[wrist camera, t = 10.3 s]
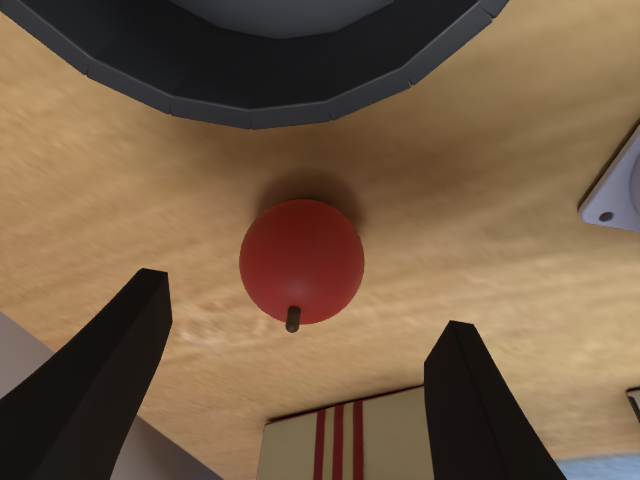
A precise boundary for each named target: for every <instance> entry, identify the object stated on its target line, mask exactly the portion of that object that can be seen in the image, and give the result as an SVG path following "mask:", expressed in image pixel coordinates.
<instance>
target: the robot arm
mask: <svg viewBox="0 0 640 480" xmlns="http://www.w3.org/2000/svg"><path fill="white" fill-rule="evenodd" d="M578 212H579V216H580V218H581V219H582V220H583V222H586V223H590V224H595V225H601V226H606V227H612V228H618V229H623V230H629V231H635V232H640V125H639V126H638V128H637V129H636V130H635V132H634V133H633V135H632V136H631V137H630V139H629V140H628V142H627V143H626V144H625V146H624V147H623V148H622V150H621V151H620V153H619V154H618V155H617V157H616V158H615V160H614V161H613V162H612V164H611V165H610V167H609V168H608V169H607V171H606V172H605V174H604V175H603V176H602V178H601V179H600V180H599V182H598V183H597V185H596V186H595V187H594V189H593V190H592V192H591V193H590V194H589V196H588V197H587V199H586V200H585V201H584V203H583V204H582V206H581V207H580V209H579V211H578ZM605 212H608V213H607V214H605V215H603V216H600V215H602V214H603V213H605ZM172 322H173V321H172V311H171V301H170V291H169V282H168V272H163V271H157V270H151V269H145V268H142V269H140V270H139V271H138V272H137V273H136V274H135V275H134V276H133V277H132V278H131V279H130V281H129V282H128V283H127V284H126V285H125V286H124V287H123V288H122V289H121V290H120V291H119V292H118V293H117V295H116V296H115V297H114V298H113V299H112V300H111V301H110V302H109V303H108V304H107V305H106V306H105V307H104V308H103V309H102V310H101V311H100V312H99V313H98V314H97V315H96V316H95V317H94V318H93V319H92V320H91V321H90V322H89V323H88V324H87V325H86V326H85V327H84V328H82V329H81V330H80V331H79V332H78V333H77V334H76V335H75V336H74V337H73V338H72V339H71V340H70V341H69V342H68V343H67V344H66V345H64V346H63V347H62V348H61V349H60V350H59V351H58V352H56V353H55V354H54V355H53V356H52V357H51V358H50V359H49V360H48V361H46V362H45V363H44V364H43V365H42V366H41V367H39V368H38V369H37V370H36V371H35V372H34V373H33V374H31V375H30V376H29V377H28V378H27V379H25V380H24V381H23V382H22V383H21V384H19V385H18V386H17V387H15V388H14V389H13V390H12V391H10V392H9V393H8V394H6V395H5V396H4V397H3V398H1V399H0V480H110V477H111V475H112V471H113V469H114V466H115V463H116V460H117V458H118V455H119V453H120V450H121V448H122V445H123V443H124V441H125V438H126V436H127V434H128V432H129V430H130V427H131V425H132V423H133V421H134V418H135V416H136V414H137V412H138V409H139V407H140V405H141V403H142V401H143V398H144V396H145V394H146V392H147V389H148V387H149V385H150V383H151V380H152V378H153V376H154V374H155V371H156V369H157V367H158V365H159V362H160V360H161V357H162V354H163V351H164V348H165V345H166V342H167V338H168V335H169V332H170V329H171V325H172ZM424 403H425V411H426V420H427V428H428V436H429V443H430V451H431V458H432V466H433V474H434V480H567V479H566V477H565V476H564V475H563V473H562V472H561V470H560V469H559V467H558V466H557V464H556V463H555V462H554V460H553V459H552V457H551V456H550V454H549V453H548V451H547V450H546V448H545V447H544V445H543V444H542V442H541V440H540V439H539V437H538V436H537V434H536V433H535V431H534V430H533V428H532V426H531V425H530V423H529V422H528V420H527V418H526V417H525V415H524V413H523V412H522V410H521V408H520V407H519V405H518V403H517V402H516V400H515V398H514V396H513V395H512V393H511V391H510V390H509V388H508V386H507V384H506V383H505V381H504V379H503V377H502V375H501V374H500V372H499V370H498V368H497V366H496V365H495V363H494V361H493V359H492V357H491V355H490V354H489V352H488V350H487V348H486V346H485V344H484V342H483V341H482V339H481V337H480V335H479V333H478V331H477V329H476V328H475V326H474V324H470V323H464V322H458V321H452V320H450V321H449V323H448V325H447V326H446V328H445V329H444V331H443V333H442V334H441V336H440V338H439V339H438V341H437V343H436V344H435V346H434V347H433V349H432V351H431V352H430V354H429V356H428V357H427V359H426V361H425V362H424Z"/></svg>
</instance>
